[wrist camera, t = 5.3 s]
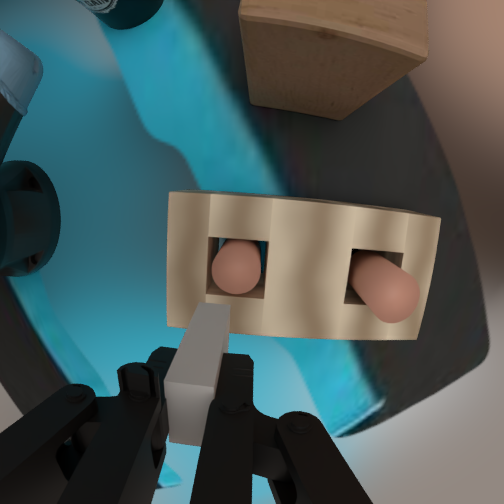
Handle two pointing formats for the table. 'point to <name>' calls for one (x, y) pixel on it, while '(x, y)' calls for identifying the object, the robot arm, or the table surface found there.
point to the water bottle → (122, 11)
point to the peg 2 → (383, 286)
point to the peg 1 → (237, 265)
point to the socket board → (294, 262)
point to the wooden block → (329, 51)
